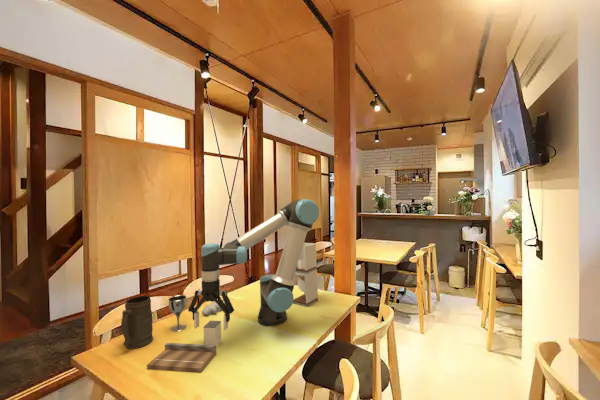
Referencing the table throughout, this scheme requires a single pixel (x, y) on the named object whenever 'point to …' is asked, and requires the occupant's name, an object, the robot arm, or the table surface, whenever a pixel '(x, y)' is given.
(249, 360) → the table surface
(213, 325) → the block
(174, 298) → the wine glass
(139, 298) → the beer stein
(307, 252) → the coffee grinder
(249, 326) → the table surface
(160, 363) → the board
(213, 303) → the bunny figurine
